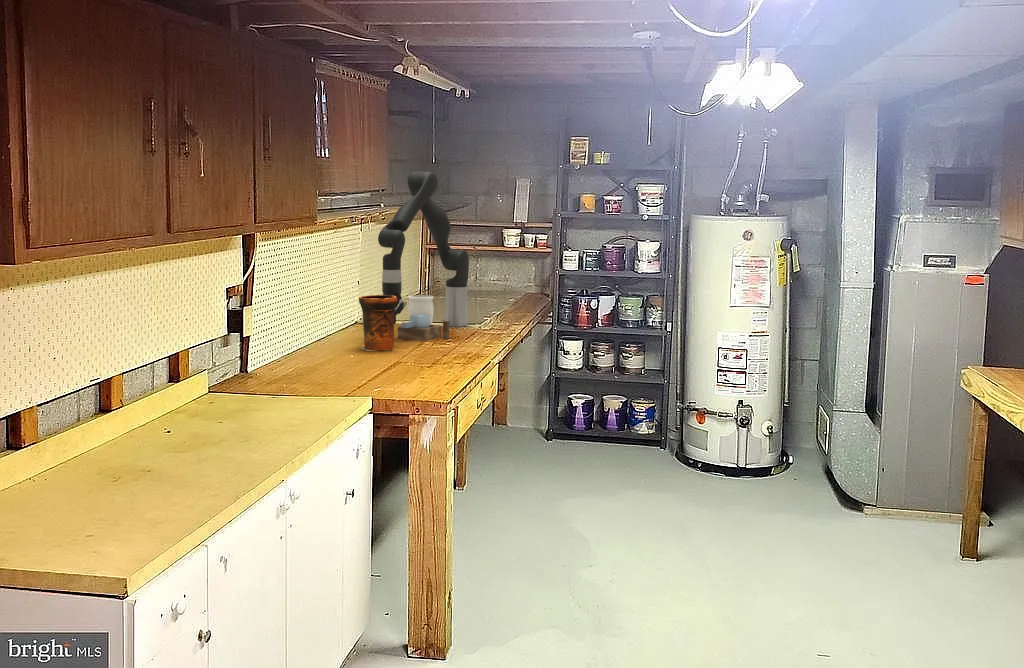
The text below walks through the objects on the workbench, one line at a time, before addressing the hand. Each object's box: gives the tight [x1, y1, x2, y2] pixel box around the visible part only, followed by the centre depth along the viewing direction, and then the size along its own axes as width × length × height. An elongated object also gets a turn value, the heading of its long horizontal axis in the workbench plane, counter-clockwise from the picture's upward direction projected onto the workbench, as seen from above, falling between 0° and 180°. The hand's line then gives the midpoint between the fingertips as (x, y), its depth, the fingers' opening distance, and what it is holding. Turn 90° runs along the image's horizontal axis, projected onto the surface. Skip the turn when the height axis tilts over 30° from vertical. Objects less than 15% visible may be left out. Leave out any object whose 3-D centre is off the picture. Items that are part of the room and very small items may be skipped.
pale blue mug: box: [401, 314, 430, 329], centre depth 392 cm, size 15×8×9 cm, turn 151°
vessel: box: [358, 294, 397, 352], centre depth 372 cm, size 14×14×20 cm
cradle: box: [396, 320, 450, 342], centre depth 394 cm, size 14×19×8 cm
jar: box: [407, 294, 435, 325], centre depth 415 cm, size 11×10×15 cm
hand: (392, 324), depth 390 cm, fingers closed
